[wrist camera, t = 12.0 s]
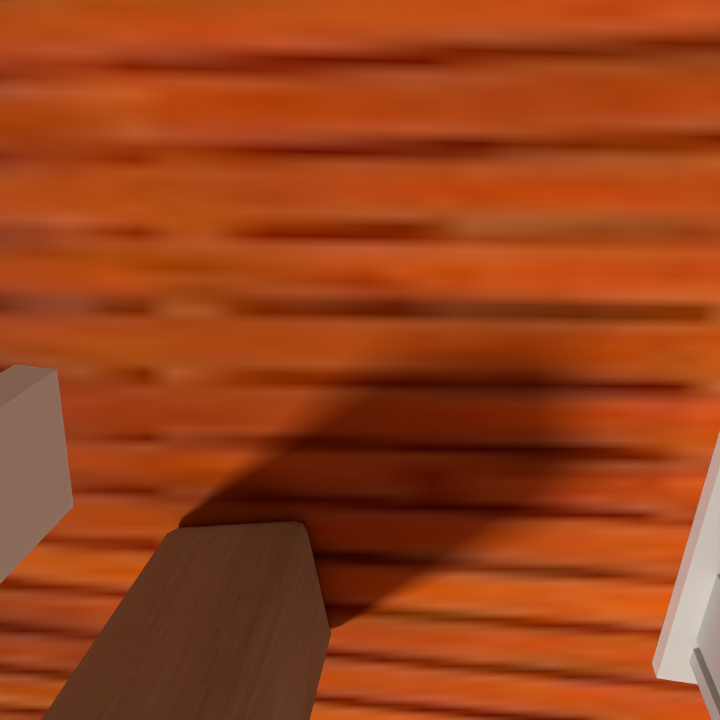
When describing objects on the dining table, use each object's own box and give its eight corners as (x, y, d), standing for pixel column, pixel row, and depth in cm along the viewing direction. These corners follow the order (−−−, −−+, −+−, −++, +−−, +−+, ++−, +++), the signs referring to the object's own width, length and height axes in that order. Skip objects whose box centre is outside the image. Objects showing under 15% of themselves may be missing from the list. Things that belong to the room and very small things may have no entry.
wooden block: (336, 634, 47) (253, 978, 29) (203, 637, 49) (47, 962, 31) (308, 513, 44) (196, 816, 26) (167, 522, 46) (-32, 809, 28)
